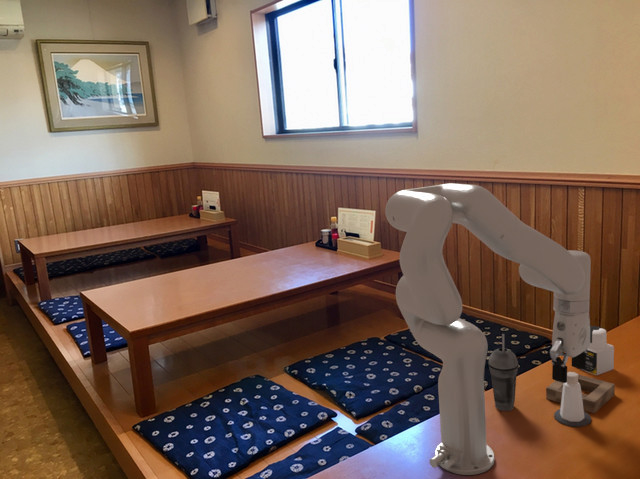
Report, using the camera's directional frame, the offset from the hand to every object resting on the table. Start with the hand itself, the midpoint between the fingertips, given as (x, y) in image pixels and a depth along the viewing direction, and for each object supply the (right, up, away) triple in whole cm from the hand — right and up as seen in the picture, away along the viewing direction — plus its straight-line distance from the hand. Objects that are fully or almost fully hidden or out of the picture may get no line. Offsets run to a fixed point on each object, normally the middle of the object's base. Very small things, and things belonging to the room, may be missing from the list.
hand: (569, 374), depth 129 cm
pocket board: (+8, -9, +12) cm, 17 cm away
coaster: (+2, -11, +3) cm, 12 cm away
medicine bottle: (+19, -5, +26) cm, 33 cm away
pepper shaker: (+2, -11, +3) cm, 11 cm away
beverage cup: (-12, -11, +11) cm, 19 cm away
